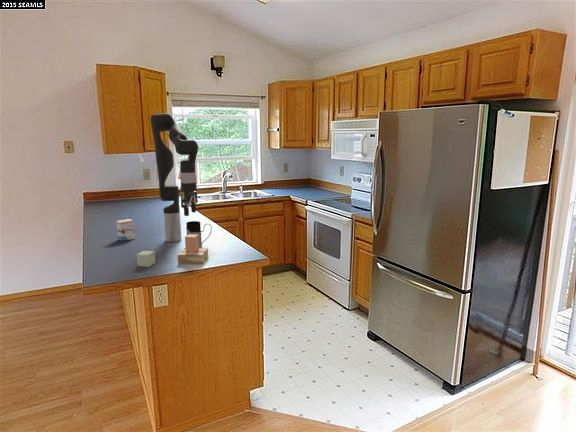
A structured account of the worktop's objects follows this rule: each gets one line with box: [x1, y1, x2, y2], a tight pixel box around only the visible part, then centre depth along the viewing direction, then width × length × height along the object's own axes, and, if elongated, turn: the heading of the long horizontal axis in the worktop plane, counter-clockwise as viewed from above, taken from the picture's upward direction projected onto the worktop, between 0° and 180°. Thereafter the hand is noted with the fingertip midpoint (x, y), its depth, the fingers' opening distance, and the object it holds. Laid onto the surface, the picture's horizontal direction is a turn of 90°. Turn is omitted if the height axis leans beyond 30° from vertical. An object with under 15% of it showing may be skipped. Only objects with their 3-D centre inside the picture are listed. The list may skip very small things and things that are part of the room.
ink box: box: [116, 218, 136, 242], centre depth 229 cm, size 9×5×12 cm, turn 135°
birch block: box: [177, 247, 209, 265], centre depth 192 cm, size 12×12×5 cm
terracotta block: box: [184, 234, 199, 253], centre depth 191 cm, size 5×5×8 cm
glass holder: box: [185, 220, 212, 248], centre depth 211 cm, size 9×14×15 cm, turn 111°
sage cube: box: [136, 250, 156, 268], centre depth 185 cm, size 6×6×6 cm
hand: (190, 213), depth 188 cm, fingers open, 8 cm apart
